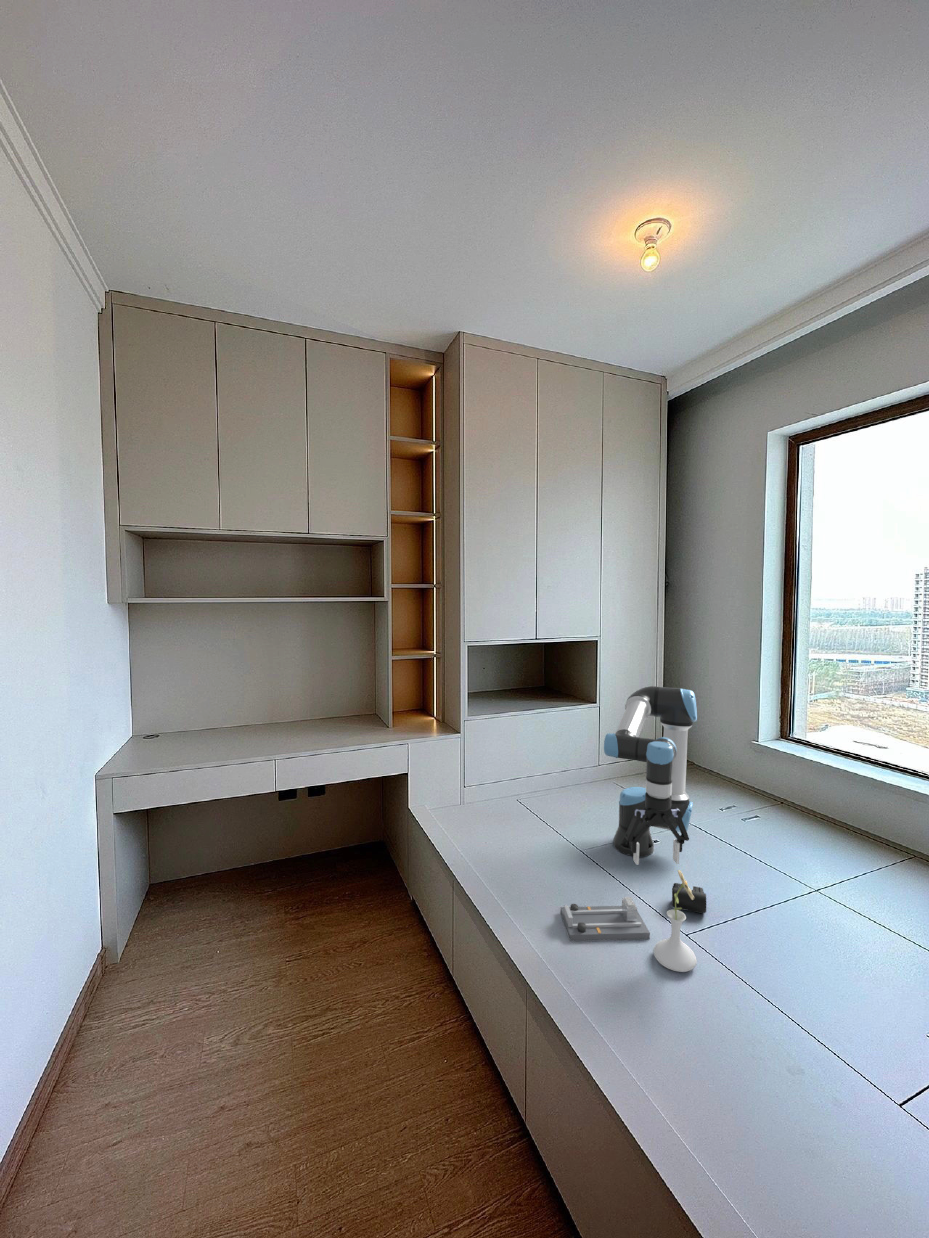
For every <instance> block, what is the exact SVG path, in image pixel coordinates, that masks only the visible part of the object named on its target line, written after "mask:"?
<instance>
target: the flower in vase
mask: <svg viewBox="0 0 929 1238" xmlns="http://www.w3.org/2000/svg"><path fill="white" fill-rule="evenodd" d="M677 873H678V876H679V878H680V881H681V883H680V884H681V887H680V888H679V890H678V892H677V893H676V894H674V896H675V908H673V909H669V910H667V911H666V915H667V917H668V919H669V921H670V926H671V928H670V929H671V933H670V937H668V938H665V939H661V940H659V941H658V942H656V944H655V945H654V947H653V950H652V951H653V955H654V958H655V960H657V962H658V963H659V964H660V965H661V966H663V967H665V968H667V969H669V970H670V971H674V972H677V973H679V972H680V973H685V972H690V971H692V970H693V969H695V967H696V966H697V964H698V961H697V956H696V954H695V951H693V950H692V948H691V947H690V946H688V945H687V944H686V943H684V942H683V941H682V940H681V928H682V925H683V923H684V922H685V920H686V919H687V916H686V914H685V913H684V912H683V911H681V910H683V909H682V908H676V902H677V903H679V900H678V897H677V895H678V893H679V891H680V889H681V888H682V887H683V888H685V889H686V891H687V893H688V895H689V896H690V898H691V899H692V900H694V899H693V898H694V896H693V894H692V893H691V892H692V891H691V890H692V889H691V888H690V887H689V885H688V881H687V879H685V877H684V874H683V872H682V871H681V870H680V869H679V870H677Z"/></svg>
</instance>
